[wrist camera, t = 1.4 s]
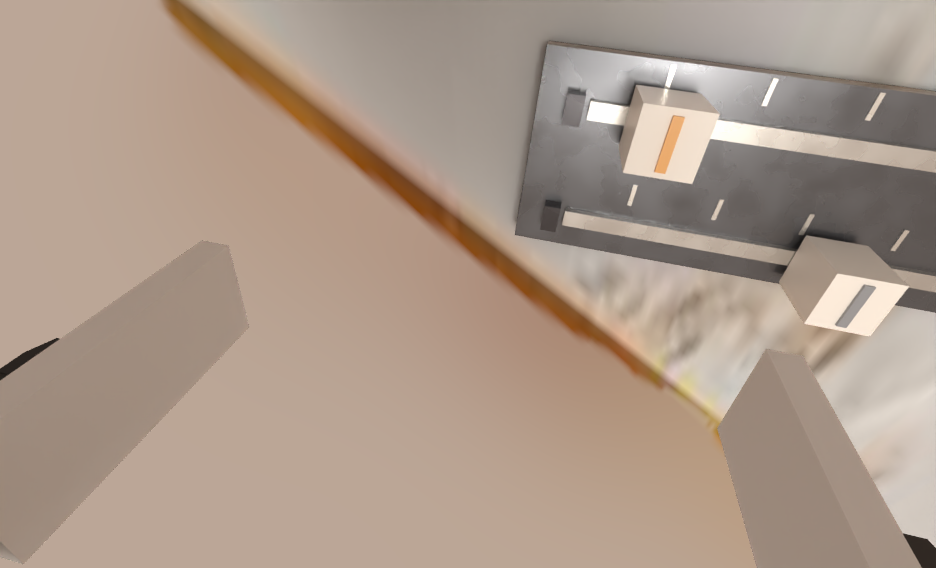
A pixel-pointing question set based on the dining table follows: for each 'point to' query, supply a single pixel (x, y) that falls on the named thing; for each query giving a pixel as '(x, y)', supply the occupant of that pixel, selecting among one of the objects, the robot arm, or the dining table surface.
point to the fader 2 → (841, 285)
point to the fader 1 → (666, 133)
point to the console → (736, 168)
